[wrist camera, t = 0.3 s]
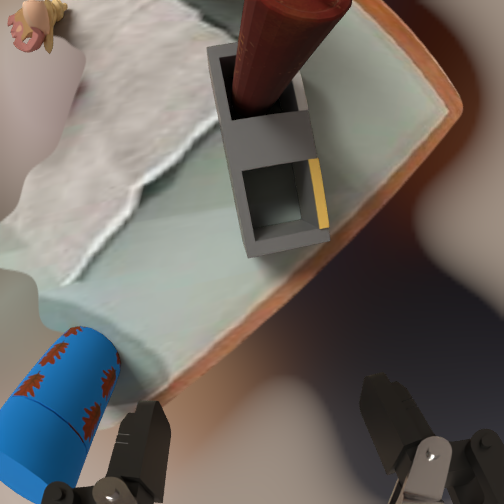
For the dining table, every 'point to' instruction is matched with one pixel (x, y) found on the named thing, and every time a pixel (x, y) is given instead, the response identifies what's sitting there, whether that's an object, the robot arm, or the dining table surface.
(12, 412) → the thermos
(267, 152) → the socket block
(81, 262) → the dining table surface
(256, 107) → the firecracker
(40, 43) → the pink and yellow lump
